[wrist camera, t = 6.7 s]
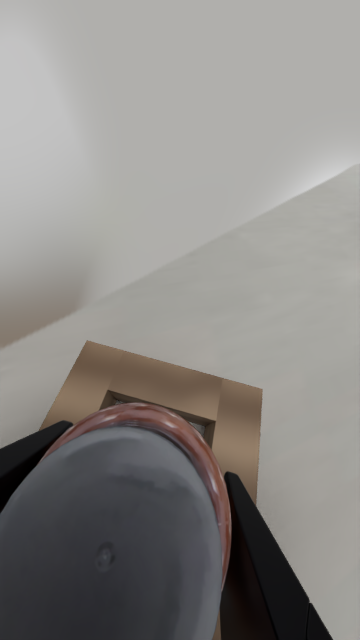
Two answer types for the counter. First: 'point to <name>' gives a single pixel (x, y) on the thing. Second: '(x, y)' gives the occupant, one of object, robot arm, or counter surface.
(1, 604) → the supplement bottle
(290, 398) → the counter surface
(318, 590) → the counter surface
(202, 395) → the walnut well
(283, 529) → the counter surface
